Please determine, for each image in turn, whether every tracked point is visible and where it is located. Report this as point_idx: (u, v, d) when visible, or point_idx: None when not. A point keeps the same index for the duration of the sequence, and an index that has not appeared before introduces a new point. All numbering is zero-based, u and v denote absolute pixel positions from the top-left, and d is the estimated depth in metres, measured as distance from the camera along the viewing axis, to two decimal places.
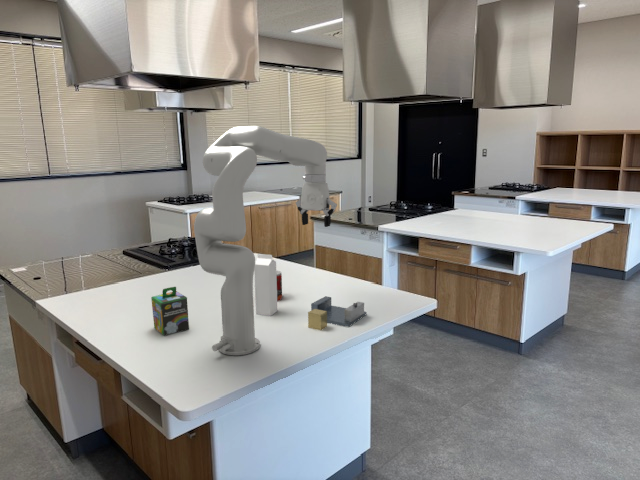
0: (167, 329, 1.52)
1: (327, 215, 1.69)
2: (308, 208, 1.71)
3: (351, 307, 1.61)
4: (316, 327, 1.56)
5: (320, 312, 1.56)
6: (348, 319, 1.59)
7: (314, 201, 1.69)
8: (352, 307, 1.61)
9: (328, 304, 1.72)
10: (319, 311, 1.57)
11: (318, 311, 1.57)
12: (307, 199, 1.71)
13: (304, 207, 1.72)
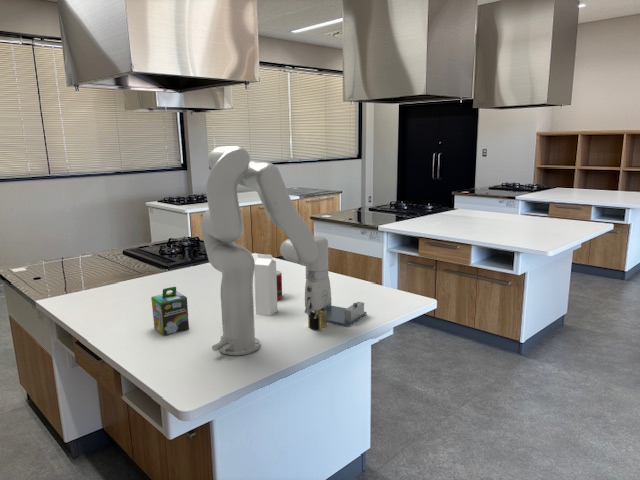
0: (167, 329, 1.52)
1: None
2: (322, 306, 1.53)
3: (351, 307, 1.61)
4: None
5: (320, 312, 1.56)
6: (348, 319, 1.59)
7: (326, 297, 1.55)
8: (352, 307, 1.61)
9: None
10: (319, 311, 1.57)
11: (318, 311, 1.57)
12: (321, 297, 1.53)
13: (319, 307, 1.52)
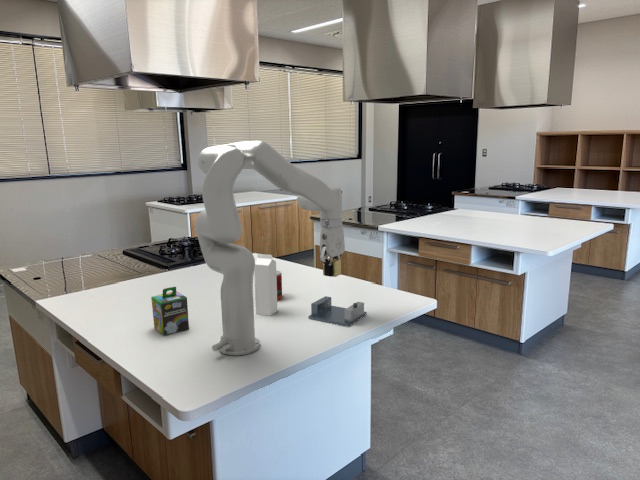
0: (167, 329, 1.52)
1: None
2: (336, 254, 1.60)
3: (351, 307, 1.61)
4: None
5: (334, 259, 1.63)
6: (348, 319, 1.59)
7: (340, 245, 1.62)
8: (352, 307, 1.61)
9: (328, 304, 1.72)
10: (333, 259, 1.64)
11: (333, 259, 1.64)
12: (335, 245, 1.60)
13: (334, 254, 1.59)
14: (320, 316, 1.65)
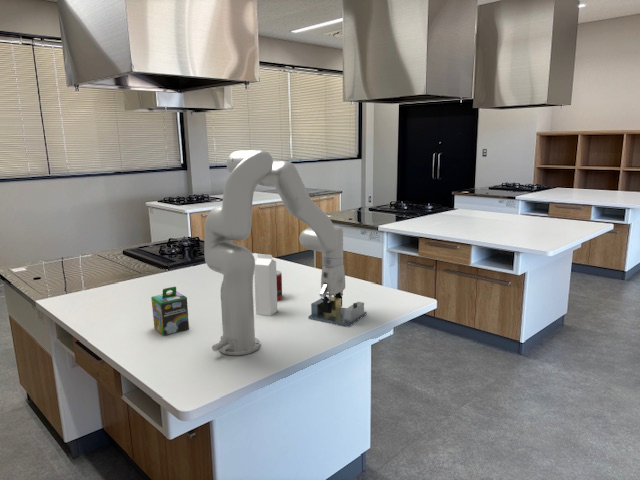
0: (167, 329, 1.52)
1: (341, 295, 1.70)
2: (337, 291, 1.64)
3: (351, 307, 1.61)
4: (331, 313, 1.66)
5: (335, 299, 1.66)
6: (348, 319, 1.59)
7: (341, 282, 1.65)
8: (352, 307, 1.61)
9: None
10: (334, 298, 1.67)
11: (333, 298, 1.67)
12: (336, 283, 1.63)
13: (335, 292, 1.62)
14: (320, 316, 1.65)
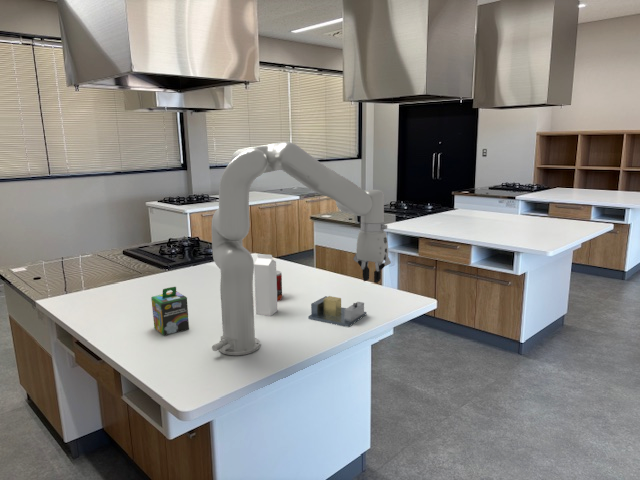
0: (167, 329, 1.52)
1: None
2: None
3: (351, 307, 1.61)
4: (331, 313, 1.66)
5: (335, 299, 1.66)
6: (348, 319, 1.59)
7: None
8: (352, 307, 1.61)
9: None
10: (334, 298, 1.67)
11: (333, 298, 1.67)
12: None
13: None
14: (320, 316, 1.65)
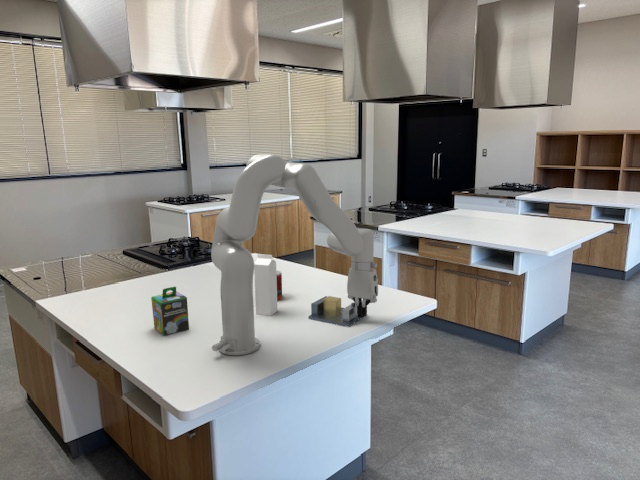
0: (167, 329, 1.52)
1: None
2: None
3: (349, 307, 1.62)
4: (331, 313, 1.66)
5: (335, 299, 1.66)
6: (346, 319, 1.59)
7: None
8: (350, 307, 1.62)
9: None
10: (334, 298, 1.67)
11: (333, 298, 1.67)
12: None
13: None
14: (320, 316, 1.65)
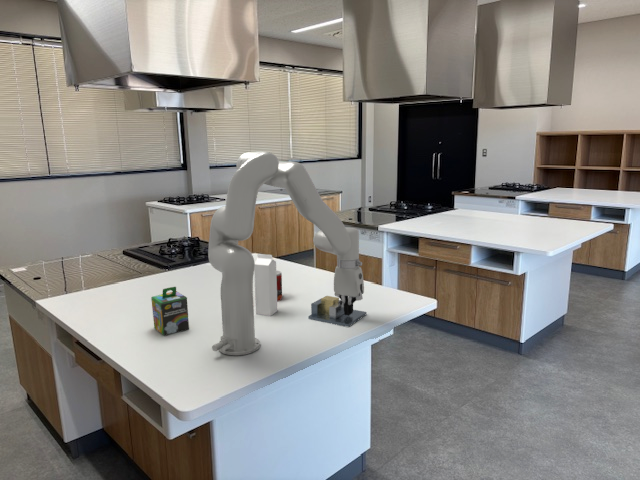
0: (167, 329, 1.52)
1: None
2: None
3: (336, 304, 1.65)
4: None
5: (332, 298, 1.67)
6: (333, 316, 1.62)
7: None
8: (337, 304, 1.65)
9: None
10: (331, 298, 1.68)
11: (331, 298, 1.67)
12: None
13: None
14: (320, 316, 1.65)
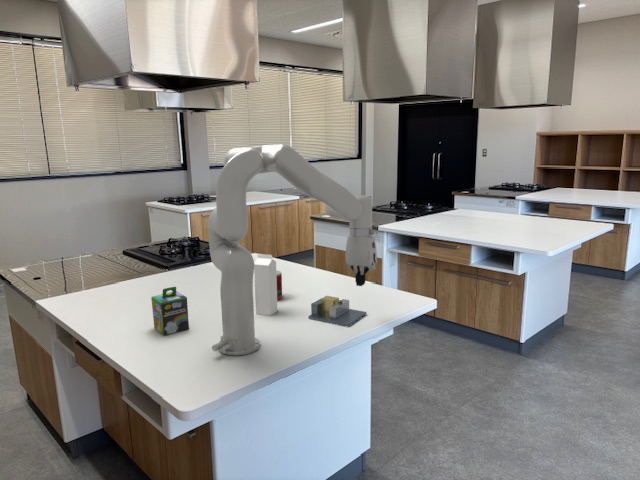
0: (167, 329, 1.52)
1: None
2: None
3: (336, 304, 1.65)
4: None
5: (332, 298, 1.67)
6: (333, 316, 1.62)
7: None
8: (337, 304, 1.65)
9: None
10: (331, 298, 1.68)
11: (331, 298, 1.67)
12: None
13: None
14: (320, 316, 1.65)
